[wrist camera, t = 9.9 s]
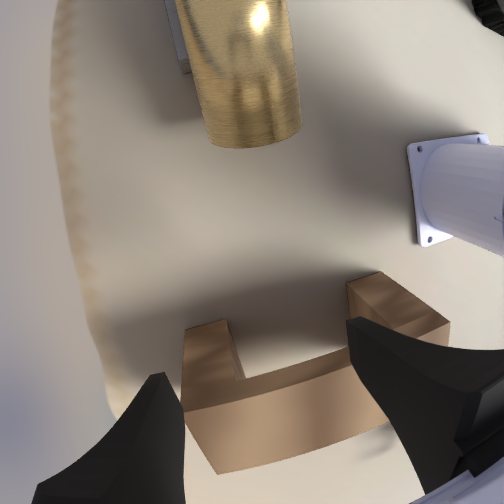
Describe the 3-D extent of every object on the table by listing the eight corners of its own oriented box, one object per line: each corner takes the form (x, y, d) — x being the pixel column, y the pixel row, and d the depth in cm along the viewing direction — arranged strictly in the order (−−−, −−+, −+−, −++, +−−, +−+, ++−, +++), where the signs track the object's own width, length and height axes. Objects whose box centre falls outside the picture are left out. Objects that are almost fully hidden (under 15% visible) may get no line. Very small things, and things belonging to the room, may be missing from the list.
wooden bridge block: (381, 271, 23) (450, 322, 15) (384, 335, 25) (440, 395, 17) (185, 329, 22) (179, 413, 14) (210, 390, 24) (217, 474, 16)
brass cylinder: (243, -75, 10) (288, -100, 7) (275, 104, 18) (320, 129, 15) (151, -62, 9) (168, -94, 6) (198, 127, 18) (225, 158, 14)
